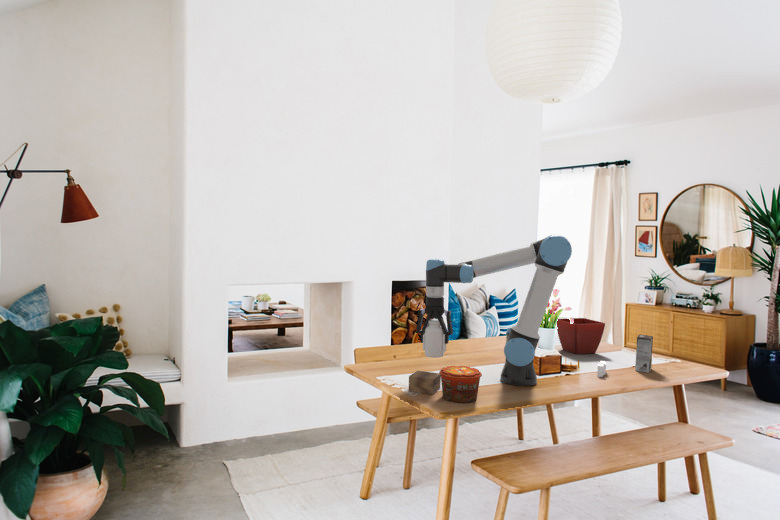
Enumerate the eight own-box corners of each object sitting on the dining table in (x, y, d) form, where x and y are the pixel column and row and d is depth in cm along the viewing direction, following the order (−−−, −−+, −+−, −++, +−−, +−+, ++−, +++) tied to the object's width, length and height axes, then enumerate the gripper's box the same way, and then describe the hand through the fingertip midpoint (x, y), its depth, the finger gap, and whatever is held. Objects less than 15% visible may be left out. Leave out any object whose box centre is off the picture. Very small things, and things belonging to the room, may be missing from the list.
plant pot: (553, 348, 311) (554, 318, 310) (582, 347, 316) (583, 317, 316) (574, 355, 293) (575, 324, 292) (604, 354, 298) (606, 323, 297)
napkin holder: (600, 370, 264) (600, 358, 264) (621, 376, 255) (621, 363, 254) (578, 373, 257) (579, 361, 256) (599, 379, 247) (600, 367, 247)
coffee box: (637, 367, 272) (638, 334, 271) (651, 369, 268) (653, 335, 268) (634, 370, 264) (636, 336, 263) (649, 372, 261) (651, 338, 260)
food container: (430, 395, 215) (431, 367, 214) (462, 390, 223) (463, 363, 223) (456, 407, 201) (457, 377, 201) (489, 401, 210) (490, 372, 209)
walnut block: (440, 388, 225) (440, 373, 224) (432, 394, 215) (433, 379, 215) (416, 385, 228) (417, 370, 228) (408, 391, 219) (409, 376, 219)
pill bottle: (442, 358, 229) (443, 322, 228) (423, 357, 230) (423, 321, 230) (444, 354, 237) (445, 319, 236) (426, 353, 238) (426, 318, 238)
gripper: (408, 296, 233) (408, 350, 234) (456, 298, 225) (456, 354, 226) (414, 294, 240) (414, 346, 241) (461, 296, 232) (460, 350, 233)
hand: (434, 350), depth 233 cm, fingers closed on pill bottle, 8 cm apart
